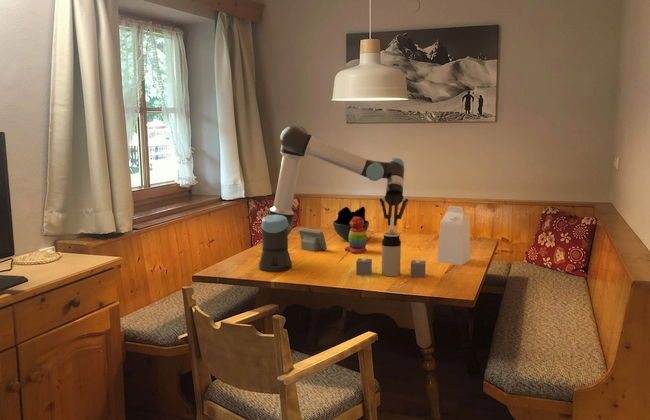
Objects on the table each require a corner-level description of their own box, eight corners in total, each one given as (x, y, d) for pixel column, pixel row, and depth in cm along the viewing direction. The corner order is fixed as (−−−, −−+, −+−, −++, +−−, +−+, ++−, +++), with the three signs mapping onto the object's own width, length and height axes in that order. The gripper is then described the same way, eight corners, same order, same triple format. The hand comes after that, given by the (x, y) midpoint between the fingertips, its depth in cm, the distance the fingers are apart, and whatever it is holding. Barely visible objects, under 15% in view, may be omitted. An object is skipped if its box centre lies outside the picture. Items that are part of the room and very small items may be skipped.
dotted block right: (424, 277, 249) (425, 263, 248) (410, 277, 250) (410, 263, 249) (425, 274, 255) (425, 260, 254) (411, 273, 256) (411, 259, 255)
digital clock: (328, 250, 301) (328, 230, 299) (314, 253, 296) (314, 232, 294) (309, 245, 314) (309, 225, 312) (296, 247, 308) (295, 227, 307)
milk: (470, 260, 279) (472, 206, 275) (461, 265, 270) (463, 209, 266) (446, 256, 286) (448, 204, 282) (437, 261, 276) (438, 207, 272)
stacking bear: (343, 250, 302) (343, 216, 299) (360, 248, 306) (360, 214, 304) (353, 254, 292) (353, 219, 290) (371, 252, 297) (371, 217, 294)
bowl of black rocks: (327, 241, 322) (327, 207, 319) (340, 235, 340) (340, 202, 337) (361, 244, 314) (362, 210, 311) (373, 237, 332) (373, 204, 330)
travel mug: (390, 277, 249) (391, 236, 246) (377, 273, 255) (378, 233, 253) (403, 274, 254) (404, 234, 251) (391, 270, 260) (392, 231, 257)
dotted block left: (370, 275, 253) (370, 261, 252) (356, 275, 254) (356, 261, 253) (371, 272, 259) (371, 258, 258) (358, 271, 260) (358, 257, 259)
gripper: (409, 193, 267) (407, 236, 253) (380, 193, 269) (377, 235, 255) (409, 182, 261) (406, 226, 247) (379, 182, 263) (375, 225, 249)
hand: (391, 231), depth 251 cm, fingers closed
